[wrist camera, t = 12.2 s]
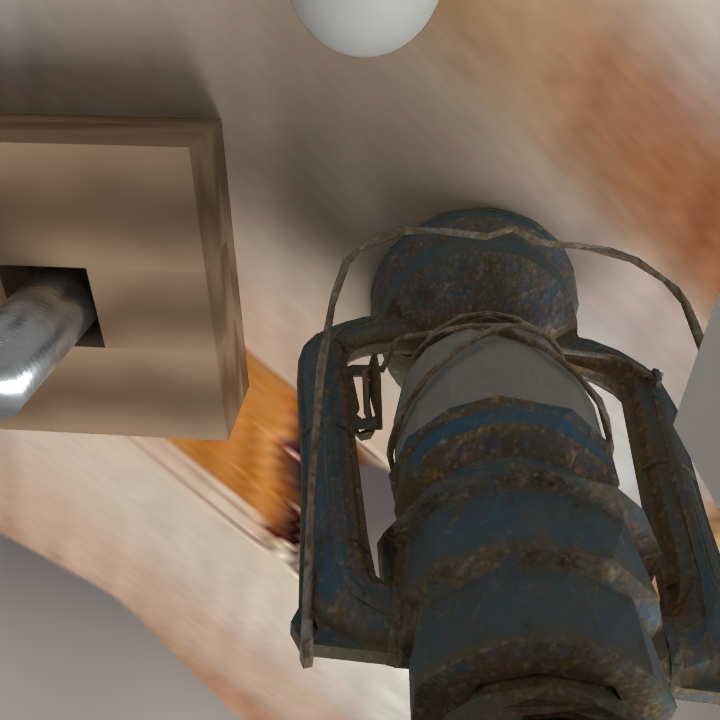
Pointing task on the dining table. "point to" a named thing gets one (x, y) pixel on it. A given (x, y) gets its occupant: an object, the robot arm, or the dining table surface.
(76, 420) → the walnut block
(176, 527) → the dining table surface
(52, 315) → the pin
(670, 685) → the lantern
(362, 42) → the lightbulb
